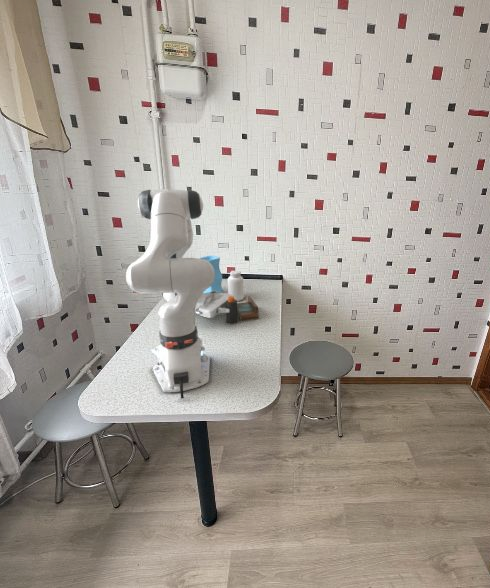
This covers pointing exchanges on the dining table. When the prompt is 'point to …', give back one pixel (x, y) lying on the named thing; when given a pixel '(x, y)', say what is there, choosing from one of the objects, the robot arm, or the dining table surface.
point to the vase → (218, 276)
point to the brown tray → (247, 310)
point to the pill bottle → (236, 285)
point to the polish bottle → (232, 310)
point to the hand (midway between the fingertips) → (233, 307)
